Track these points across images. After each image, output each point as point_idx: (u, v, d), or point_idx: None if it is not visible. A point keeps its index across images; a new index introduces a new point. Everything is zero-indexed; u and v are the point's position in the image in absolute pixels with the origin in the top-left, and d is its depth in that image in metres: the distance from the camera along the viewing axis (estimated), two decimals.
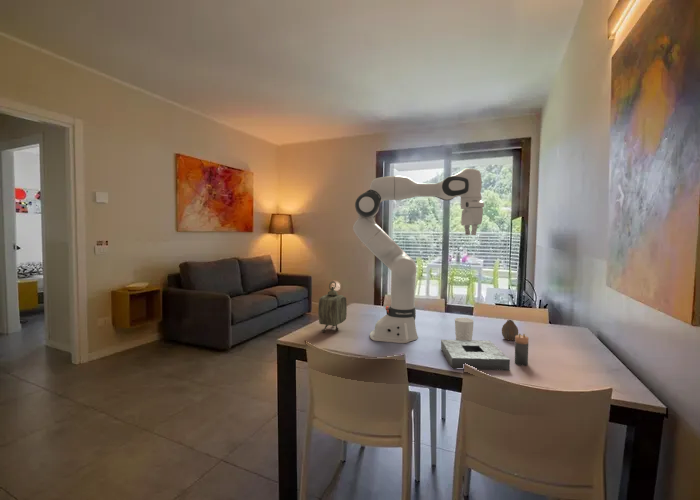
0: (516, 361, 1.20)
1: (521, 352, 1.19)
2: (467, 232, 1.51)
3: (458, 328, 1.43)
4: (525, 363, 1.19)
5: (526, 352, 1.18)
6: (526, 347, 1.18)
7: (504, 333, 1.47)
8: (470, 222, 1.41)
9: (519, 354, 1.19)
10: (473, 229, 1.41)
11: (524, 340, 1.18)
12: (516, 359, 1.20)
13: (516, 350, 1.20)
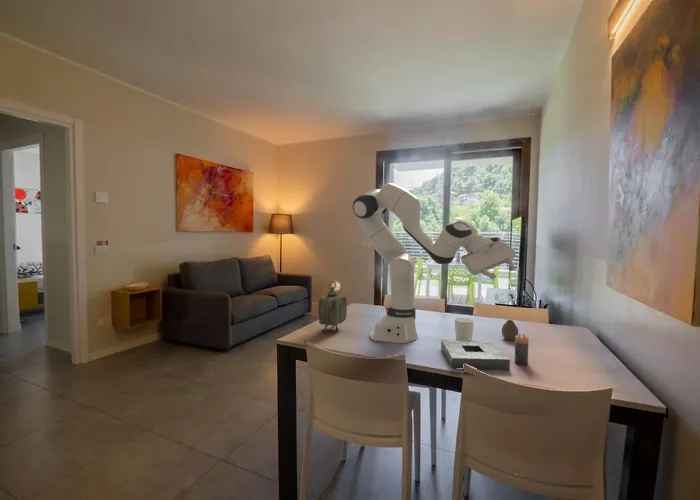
0: (516, 361, 1.20)
1: (521, 352, 1.19)
2: None
3: (458, 328, 1.43)
4: (525, 363, 1.19)
5: (526, 352, 1.18)
6: (526, 347, 1.18)
7: (504, 333, 1.47)
8: (507, 255, 1.24)
9: (519, 354, 1.19)
10: None
11: (524, 340, 1.18)
12: (516, 359, 1.20)
13: (516, 350, 1.20)
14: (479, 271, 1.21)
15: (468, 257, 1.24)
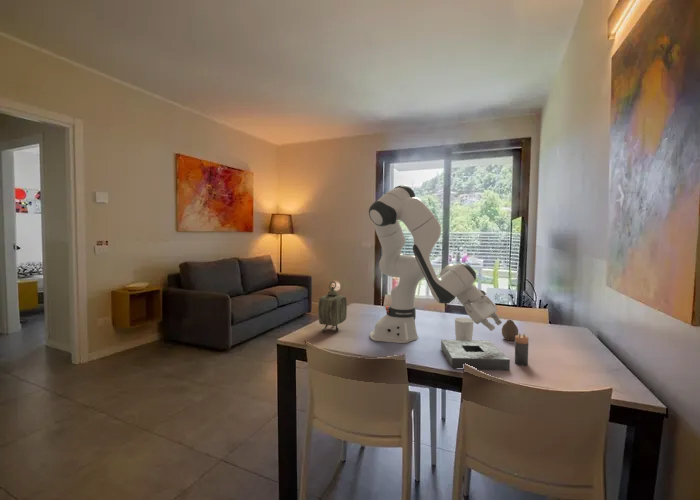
0: (516, 361, 1.20)
1: (521, 352, 1.19)
2: None
3: (458, 328, 1.43)
4: (525, 363, 1.19)
5: (526, 352, 1.18)
6: (526, 347, 1.18)
7: (504, 333, 1.47)
8: (494, 309, 1.31)
9: (519, 354, 1.19)
10: None
11: (524, 340, 1.18)
12: (516, 358, 1.20)
13: (516, 350, 1.20)
14: (482, 320, 1.21)
15: (472, 304, 1.22)
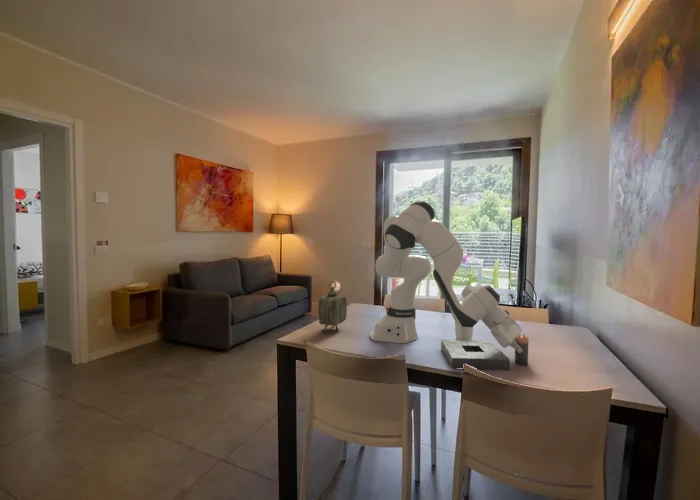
0: (516, 361, 1.20)
1: (521, 352, 1.19)
2: None
3: (458, 328, 1.43)
4: (525, 363, 1.19)
5: (526, 352, 1.18)
6: (526, 347, 1.18)
7: None
8: (519, 330, 1.26)
9: (519, 354, 1.19)
10: None
11: (524, 340, 1.18)
12: (516, 358, 1.20)
13: (516, 350, 1.20)
14: (509, 344, 1.16)
15: (499, 327, 1.17)
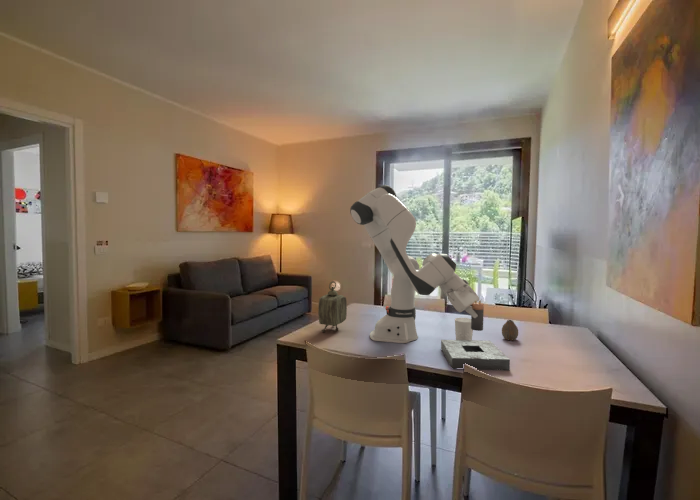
0: (472, 327, 1.24)
1: (477, 317, 1.23)
2: None
3: (458, 328, 1.43)
4: (480, 328, 1.23)
5: (481, 317, 1.23)
6: (481, 313, 1.23)
7: (504, 333, 1.47)
8: (476, 298, 1.31)
9: (474, 320, 1.23)
10: None
11: (479, 306, 1.22)
12: (472, 324, 1.24)
13: (472, 316, 1.24)
14: (464, 309, 1.20)
15: (455, 293, 1.21)
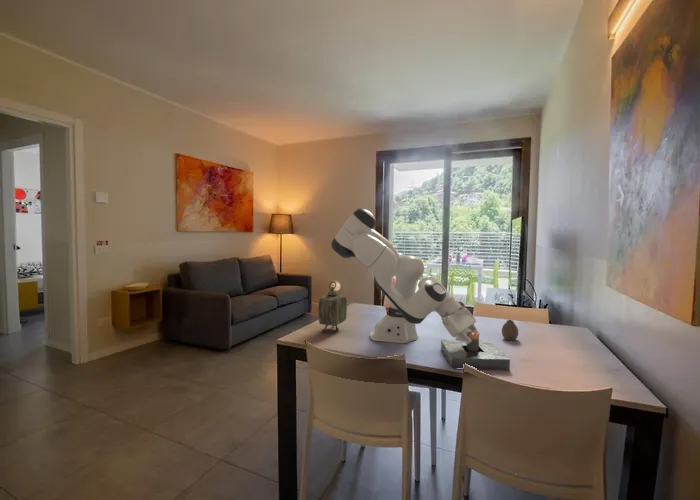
0: None
1: (472, 348, 1.23)
2: None
3: None
4: None
5: (476, 348, 1.23)
6: (476, 343, 1.23)
7: (504, 333, 1.47)
8: (472, 321, 1.30)
9: (469, 350, 1.24)
10: None
11: (474, 336, 1.23)
12: None
13: (467, 346, 1.24)
14: (459, 333, 1.20)
15: (449, 317, 1.22)
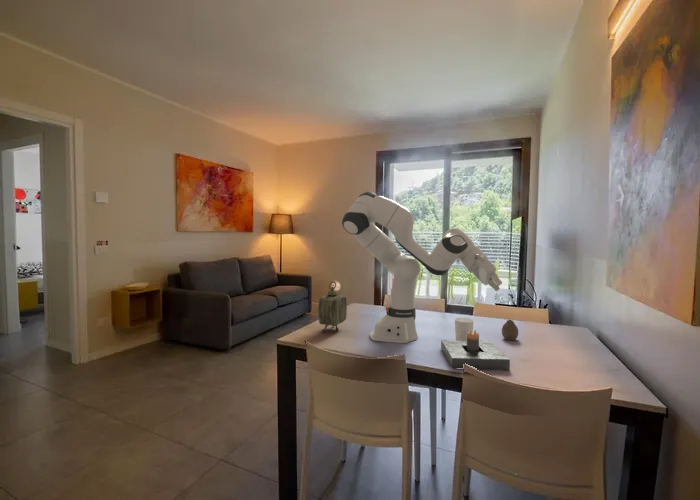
0: None
1: (472, 348, 1.23)
2: None
3: (458, 328, 1.43)
4: None
5: (476, 348, 1.23)
6: (476, 343, 1.23)
7: (504, 333, 1.47)
8: None
9: (469, 350, 1.24)
10: None
11: (474, 336, 1.23)
12: None
13: (467, 346, 1.24)
14: (492, 272, 1.19)
15: None
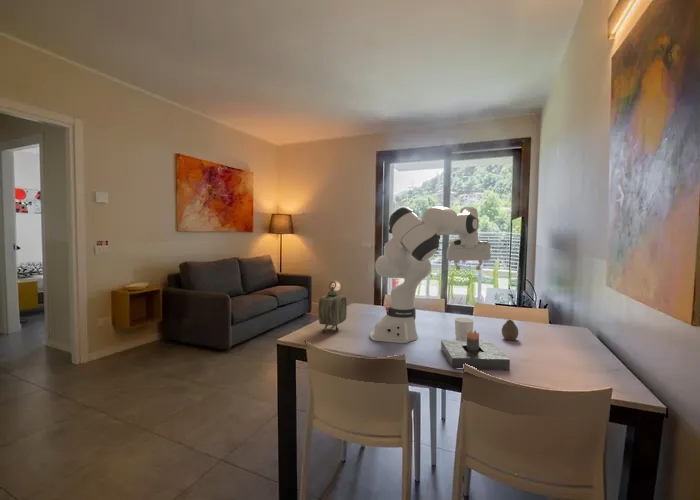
0: None
1: (472, 348, 1.23)
2: (476, 267, 1.56)
3: (458, 328, 1.43)
4: None
5: (476, 348, 1.23)
6: (476, 343, 1.23)
7: (504, 333, 1.47)
8: None
9: (469, 350, 1.24)
10: (455, 264, 1.57)
11: (474, 336, 1.23)
12: None
13: (467, 346, 1.24)
14: None
15: None
